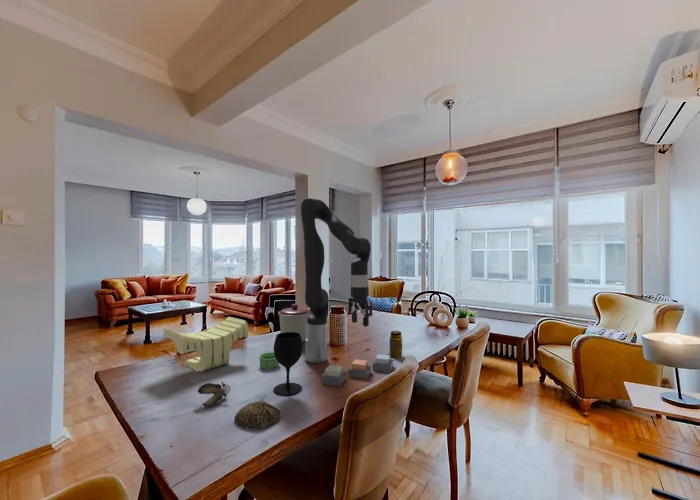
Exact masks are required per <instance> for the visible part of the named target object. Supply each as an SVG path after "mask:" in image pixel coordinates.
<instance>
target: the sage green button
mask: <svg viewBox="0 0 700 500" xmlns="http://www.w3.org/2000/svg"><path fill="white" fill-rule="evenodd" d="M343 370H344V369H343V366H340V365H333V364H329V365H328V366H327V367H326V368H325V369H324V372H325V375H327V376H334V377H339V376H340V375H341V374H342V373H343Z"/></svg>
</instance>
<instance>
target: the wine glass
mask: <svg viewBox="0 0 700 500" xmlns="http://www.w3.org/2000/svg"><path fill="white" fill-rule="evenodd" d="M303 346H304V345H303V342H302V339H301V335H300V334H299V333H296V332H284V333H281V332H280V333H277V334H276V335H275V339H274V342H273V353H274V355H275V358H276V360H277V361H278V362H279V365H281V366H282V367H284V368H285V371H286V380H285V381H286V382H283V383H280V384H277V385H276V386H274V387H273V390H272V392H273V393H274V395H276V396H277V395H278V396H280V397H291V396H295V395H298V394H299V393H301V392H302V390H303V387H302V385H301V384H299V383H296V382H290V371H291V368H292V367H293V366H295V364H296V363H298V362H299V360H300V359H301V357H302V353H303Z"/></svg>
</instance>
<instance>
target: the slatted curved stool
mask: <svg viewBox="0 0 700 500" xmlns="http://www.w3.org/2000/svg"><path fill="white" fill-rule="evenodd" d="M163 336H165V337H168V338H169V339H170V340H172V341H173V342H174V345H175V348H176V352H177V353H179V354H181V355H184V354H186V353H188V351H189V352H190V351H195V350H196V351H197V353H198V354H199V356H196V357H194V358H189V359H186V360H185V362H184V364H187V365H189V366H191V367H192V368H195V369H197V370H198V371H200V372H199V373H201V372H204V371H207V370H210V368H211V369H213V368H217V367H220V366H224V365H227V364H229V363H230V355H231V354H230V353H231V350H232V347H233V343H235V342H236V341H237V340H238V339H242V338H249V325H248V322H247V321H246V320H245V319H241V318H236V317H231V316H228V317H226V318H225V320H222V321H221V322H219V324H216V325H215V326H214V327H211V328H208V329H206V330H204V331H203V330H202V331H199V332H195V333H193V332H191V333H190V332H188V333H186V332H177V331H174V330H170V329H167V328H163ZM198 371H197V372H198Z"/></svg>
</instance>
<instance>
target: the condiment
mask: <svg viewBox="0 0 700 500" xmlns="http://www.w3.org/2000/svg"><path fill="white" fill-rule="evenodd" d="M386 355H390V359H393V361H396V360H399V359H400V360H401V359H405V358H404V357H405V356H404V355H403V337H402V332H401V331H400V330H392V331H390V337H389V353H388V354H386Z"/></svg>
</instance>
